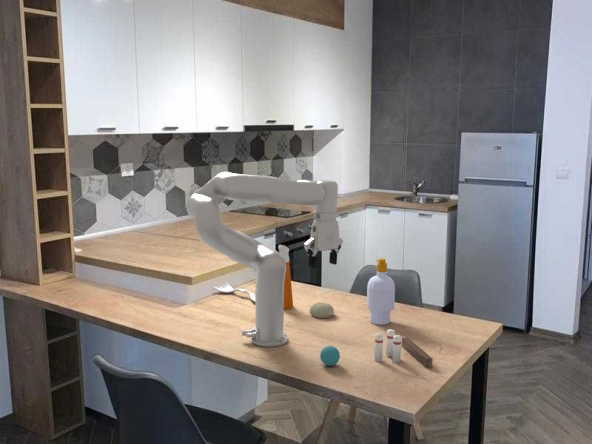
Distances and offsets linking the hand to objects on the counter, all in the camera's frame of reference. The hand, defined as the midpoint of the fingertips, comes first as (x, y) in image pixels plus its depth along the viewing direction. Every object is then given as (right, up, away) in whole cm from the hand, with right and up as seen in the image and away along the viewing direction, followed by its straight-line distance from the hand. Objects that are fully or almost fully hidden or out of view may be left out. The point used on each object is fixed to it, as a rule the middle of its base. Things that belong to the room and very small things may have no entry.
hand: (322, 265), depth 206 cm
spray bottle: (-15, -20, +30) cm, 38 cm away
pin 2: (+22, -29, -20) cm, 42 cm away
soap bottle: (+22, -23, +16) cm, 35 cm away
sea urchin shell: (+1, -21, +23) cm, 31 cm away
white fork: (-31, -17, +44) cm, 57 cm away
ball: (+1, -26, -24) cm, 35 cm away
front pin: (+17, -29, -19) cm, 38 cm away
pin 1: (+21, -28, -16) cm, 38 cm away
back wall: (+29, -28, -16) cm, 44 cm away
